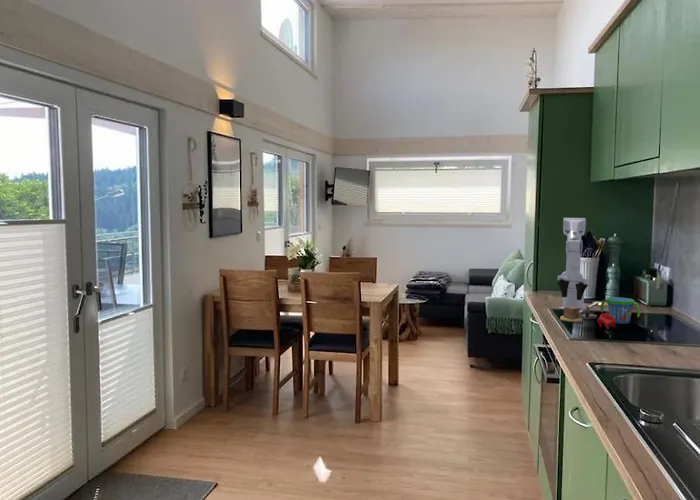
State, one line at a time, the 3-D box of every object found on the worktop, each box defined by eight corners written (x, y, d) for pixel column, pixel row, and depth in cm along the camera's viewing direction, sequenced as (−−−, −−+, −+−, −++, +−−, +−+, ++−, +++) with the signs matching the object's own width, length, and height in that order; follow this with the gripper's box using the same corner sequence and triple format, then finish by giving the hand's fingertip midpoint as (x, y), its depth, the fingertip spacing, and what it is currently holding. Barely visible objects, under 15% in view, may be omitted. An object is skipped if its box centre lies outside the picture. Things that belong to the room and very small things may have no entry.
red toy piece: (605, 322, 224) (617, 314, 224) (594, 315, 229) (606, 307, 229) (608, 335, 228) (620, 328, 228) (597, 328, 233) (609, 320, 234)
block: (570, 316, 246) (571, 306, 246) (579, 318, 242) (579, 308, 242) (563, 317, 244) (564, 307, 244) (572, 319, 240) (572, 308, 240)
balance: (600, 312, 260) (600, 298, 259) (617, 316, 252) (618, 302, 251) (555, 319, 245) (556, 304, 244) (572, 323, 237) (573, 307, 237)
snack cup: (595, 321, 242) (596, 297, 241) (607, 317, 249) (608, 295, 248) (632, 327, 230) (633, 303, 229) (643, 324, 237) (645, 300, 236)
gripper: (553, 266, 246) (552, 296, 248) (581, 269, 234) (579, 301, 235) (564, 265, 250) (562, 295, 251) (592, 269, 237) (590, 300, 238)
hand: (571, 298), depth 243 cm, fingers open, 7 cm apart
